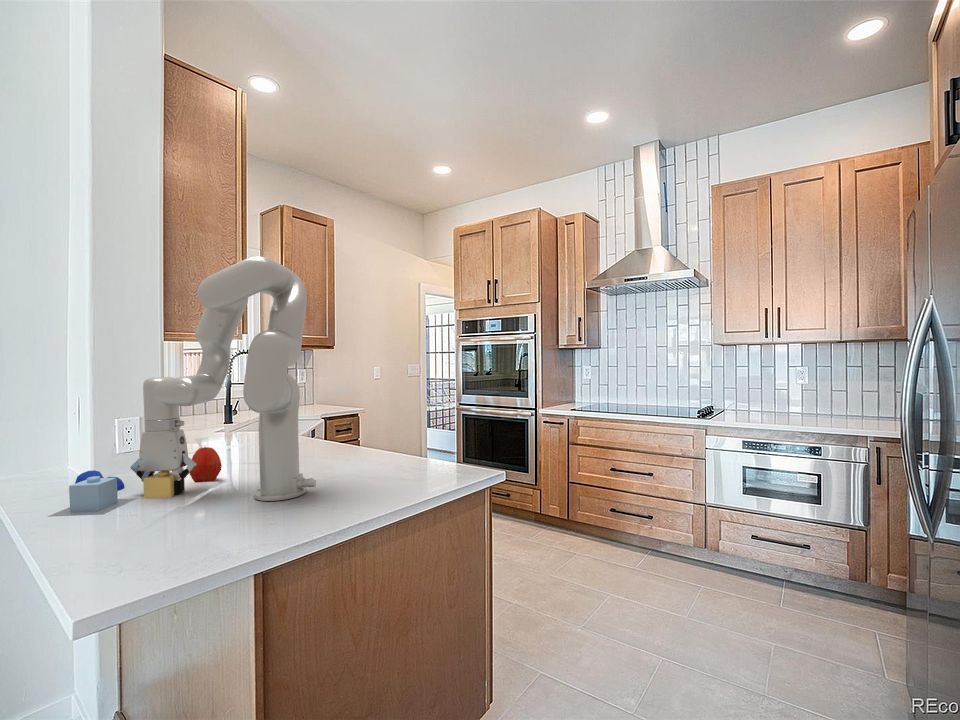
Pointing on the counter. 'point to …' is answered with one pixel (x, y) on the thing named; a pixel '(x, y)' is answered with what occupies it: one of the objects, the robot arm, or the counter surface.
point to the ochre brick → (159, 485)
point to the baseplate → (67, 511)
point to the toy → (96, 473)
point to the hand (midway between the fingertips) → (164, 494)
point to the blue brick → (93, 494)
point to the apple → (206, 465)
